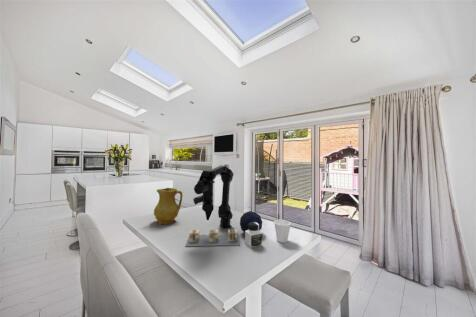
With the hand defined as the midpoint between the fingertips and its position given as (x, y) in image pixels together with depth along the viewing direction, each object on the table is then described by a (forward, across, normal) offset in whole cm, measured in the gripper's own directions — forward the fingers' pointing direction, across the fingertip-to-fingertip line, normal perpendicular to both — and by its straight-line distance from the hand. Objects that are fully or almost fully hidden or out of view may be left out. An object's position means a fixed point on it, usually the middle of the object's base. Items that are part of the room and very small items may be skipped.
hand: (207, 217), depth 113 cm
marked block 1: (+13, +1, -7) cm, 15 cm away
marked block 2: (+13, +3, +15) cm, 19 cm away
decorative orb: (+14, -6, +28) cm, 31 cm away
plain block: (+13, +2, +4) cm, 13 cm away
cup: (+14, +6, +44) cm, 47 cm away
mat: (+13, +2, +4) cm, 14 cm away
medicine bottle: (+14, +9, +26) cm, 31 cm away
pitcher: (+14, -34, -30) cm, 47 cm away
